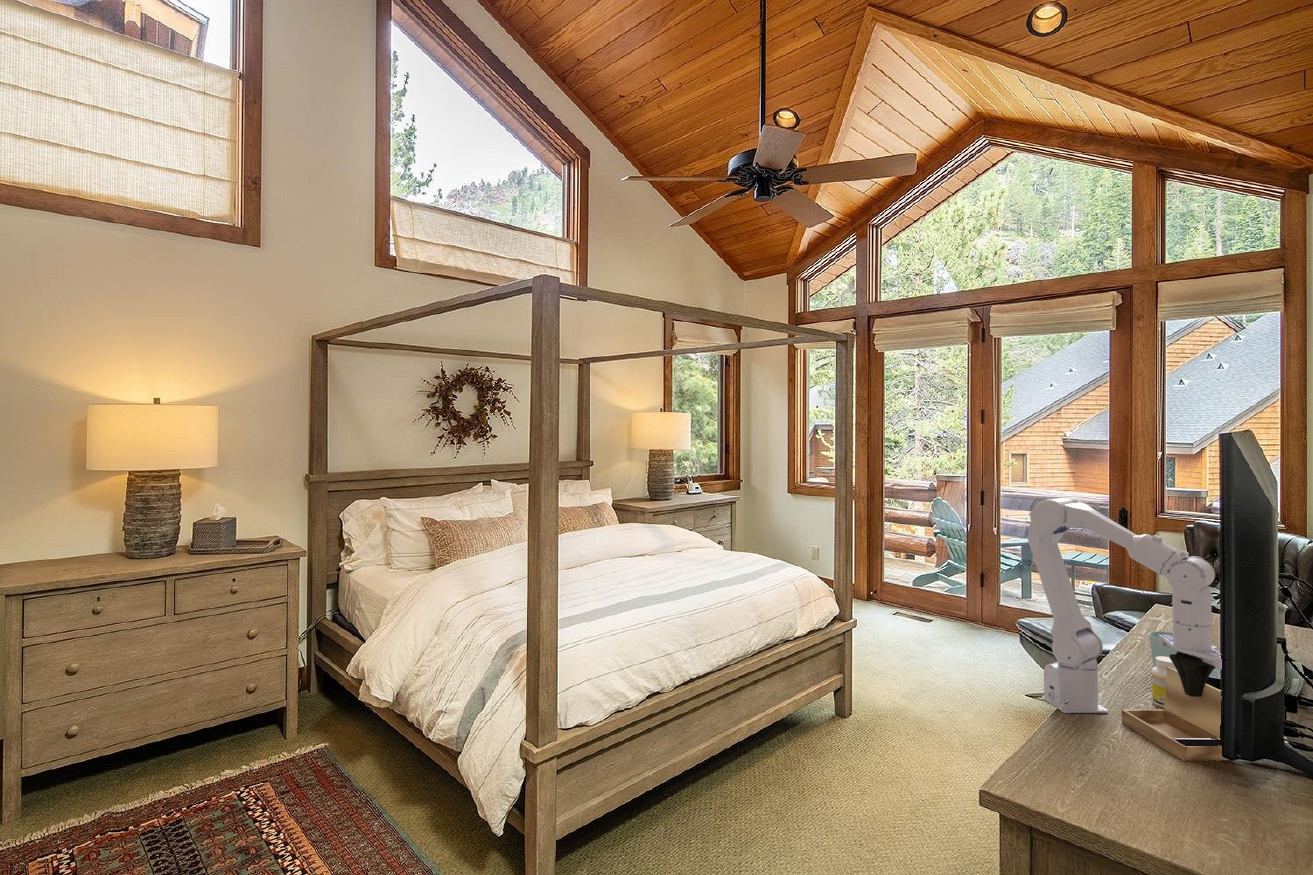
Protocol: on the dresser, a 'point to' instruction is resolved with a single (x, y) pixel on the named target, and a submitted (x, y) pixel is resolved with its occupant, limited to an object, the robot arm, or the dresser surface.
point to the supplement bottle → (1160, 679)
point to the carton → (1171, 733)
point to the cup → (1159, 646)
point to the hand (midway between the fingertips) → (1193, 695)
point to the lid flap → (1194, 704)
